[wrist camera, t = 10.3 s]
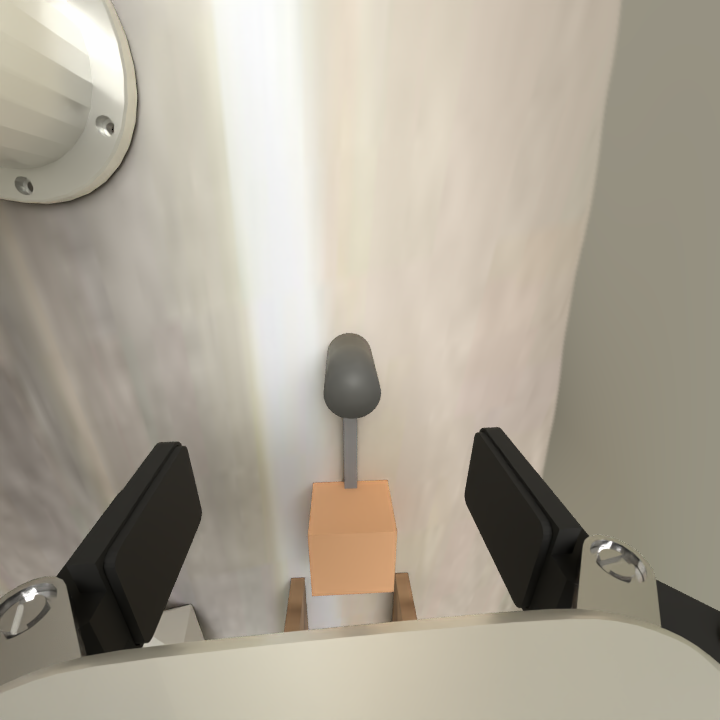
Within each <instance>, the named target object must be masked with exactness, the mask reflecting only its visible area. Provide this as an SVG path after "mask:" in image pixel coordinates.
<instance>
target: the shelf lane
mask: <svg viewBox="0 0 720 720" xmlns="http://www.w3.org/2000/svg"><path fill="white" fill-rule="evenodd" d="M408 620H417V617H416V611H415V606H414V601H413V596H412V591H411V586H410V581H409V576H408V573H395V584H394V598H393V613H392V622H397V621H408ZM303 630H308V618H307V604H306V591H305V578H291V585H290V592H289V599H288V606H287V614H286V621H285V628H284V632H292V631H303Z"/></svg>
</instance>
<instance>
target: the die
mask: <svg viewBox="0 0 720 720" xmlns="http://www.w3.org/2000/svg"><path fill="white" fill-rule="evenodd" d="M203 640H204V637H203V634H202V631H201V629H200V626H199V623H198V621H197V618H196V615H195V612H194V610H193V607H192V604H191V605H186V606H182V607H177V608H173V609H168V610H164V611H163V614H162V616H161V619H160V621H159V623H158V626H157V628H156V631H155V633H154V635H153V637H152V639H151V641H150V642H149V643H144V645H143V647H151V646H159V645H168V644H176V643H184V642H193V641H203ZM143 647H142V648H143Z"/></svg>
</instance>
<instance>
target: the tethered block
mask: <svg viewBox="0 0 720 720" xmlns="http://www.w3.org/2000/svg"><path fill="white" fill-rule="evenodd" d="M380 397H381V389H380V385H379V381H378V377H377V373H376V369H375V365H374V361H373V357H372V353H371V349H370V346H369V344H368V342H367V341H366V340H365V339H364V338H363V337H361V336H359V335H357V334H353V333H346V334H342V335H340V336H338V337H336V338H335V339H334V340H333V341H332V342H331V344H330V346H329V348H328V354H327V364H326V374H325V384H324V400H325V402H326V405H327V406H328V408H329V409H330V410H331V411H332V412H333V413H335V414H336V415H338V416H340V417H343V430H344V482H321V483H313V491H312V500H311V510H310V519H309V529H308V545H309V559H310V573H311V586H312V596H325V595H344V594H362V593H381V592H394V576H395V559H396V542H397V528H396V523H395V518H394V512H393V507H392V502H391V496H390V491H389V486H388V480H376V481H357V418H360V417H363V416H366V415H367V414H369V413H370V412H372V411H373V410H374V409H375V408H376V406H377V405H378V403H379V400H380Z"/></svg>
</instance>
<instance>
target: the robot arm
mask: <svg viewBox="0 0 720 720" xmlns="http://www.w3.org/2000/svg"><path fill="white" fill-rule="evenodd" d="M136 107H137V89H136V80H135V71H134V64H133V61H132V57H131V53H130V49H129V46H128V42H127V38H126V35H125V32H124V30H123V28H122V25H121V23H120V21H119V18H118V16H117V13H116V11H115V9H114V6H113V4H112V2H111V1H110V0H0V199H5V200H11V201H18V202H24V203H43V204H51V203H58V202H65V201H71V200H73V199H76V198H78V197H81V196H84V195H86V194H89V193H90V192H92V191H93V190H95V189H96V188H97V187H99V186H100V185H102V184H103V183H104V182H106V181H107V180H108V178H109V177H110V176H111V175H112V174H113V173H114V171H115V170H116V169H117V168H118V167H119V165H120V164H121V162H122V160H123V158H124V156H125V154H126V152H127V150H128V148H129V146H130V142H131V138H132V134H133V130H134V126H135V122H136ZM113 126H114V132H113V133H112V127H113ZM465 501H466V504H467V507H468V509H469V511H470V513H471V515H472V517H473V519H474V521H475V523H476V525H477V527H478V529H479V531H480V534H481V536H482V538H483V540H484V542H485V544H486V546H487V548H488V550H489V552H490V554H491V556H492V558H493V560H494V562H495V565H496V567H497V569H498V571H499V573H500V575H501V577H502V579H503V581H504V583H505V585H506V587H507V589H508V591H509V594H510V596H511V598H512V600H513V602H514V603H515V605H516V606H517V607H518V608H522V609H523V611H514V612H499V613H486V614H475V615H464V616H453V617H442V618H430V619H419V620H408V621H397V622H387V623H376V624H365V625H355V626H344V627H334V628H324V629H313V630H303V631H292V632H282V633H272V634H263V635H253V636H243V637H233V638H223V639H213V640H203V641H193V642H184V643H176V644H168V645H159V646H151V647H143V645H144V643H149V642H150V641H151V639H152V637H153V635H154V633H155V631H156V628H157V626H158V623H159V621H160V619H161V616H162V614H163V611H164V609H165V606H166V604H167V602H168V599H169V597H170V594H171V592H172V589H173V587H174V585H175V582H176V580H177V577H178V575H179V572H180V570H181V568H182V565H183V563H184V560H185V558H186V555H187V553H188V550H189V548H190V546H191V543H192V541H193V538H194V536H195V533H196V531H197V529H198V526H199V524H200V521H201V516H202V510H201V505H200V501H199V496H198V492H197V488H196V484H195V479H194V475H193V471H192V467H191V462H190V458H189V454H188V450H187V447H186V446H182V445H181V443H180V442H160V443H158V444H157V445H156V446H155V447H154V448H153V450H152V451H151V452H150V454H149V455H148V456H147V458H146V459H145V460H144V462H143V463H142V464H141V466H140V467H139V468H138V470H137V471H136V473H135V474H134V475H133V477H132V478H131V479H130V481H129V482H128V483H127V485H126V486H125V487H124V489H123V490H122V491H121V492H120V493H119V494H118V495H117V496H116V497H115V499H114V500H113V501H112V503H111V504H110V505H109V507H108V508H107V509H106V511H105V512H104V513H103V515H102V516H101V517H100V519H99V520H98V521H97V523H96V524H95V525H94V527H93V528H92V529H91V531H90V532H89V534H88V535H87V536H86V538H85V539H84V540H83V542H82V543H81V544H80V546H79V547H78V548H77V550H76V551H75V552H74V554H73V555H72V556H71V558H70V559H69V560H68V562H67V563H66V564H65V566H64V567H63V568H62V570H61V571H60V572H59V574H58V575H57V576H56V577H42V578H38V579H34V580H31V581H29V582H27V583H24V584H22V585H20V586H18V587H17V588H15V589H13V590H12V591H10V592H8V593H7V594H5V595H4V596H3V597H1V598H0V720H720V611H718V610H716V609H714V608H712V607H710V606H708V605H705V604H704V603H702V602H700V601H698V600H696V599H694V598H692V597H690V596H688V595H686V594H684V593H682V592H680V591H678V590H676V589H674V588H672V587H670V586H668V585H666V584H664V583H661V582H660V581H658V580H656V577H655V574H654V571H653V568H652V567H651V566H650V564H649V563H648V561H647V560H646V559H645V558H644V557H643V556H642V555H641V554H640V553H639V552H638V551H637V550H635V549H634V548H632V547H631V546H630V545H628V544H626V543H624V542H622V541H620V540H618V539H616V538H613V537H610V536H607V535H598V534H597V535H591V536H589V535H588V534H587V533H586V532H585V531H584V529H583V528H582V527H581V526H580V524H579V523H578V522H577V521H576V519H575V518H574V517H573V516H572V515H571V513H570V512H569V511H568V510H567V509H566V507H565V506H564V505H563V504H562V502H560V500H559V499H558V497H557V496H556V495H555V494H554V493H553V491H552V490H551V489H550V488H549V487H548V485H547V484H546V483H545V482H544V480H543V479H542V478H541V477H540V475H539V474H538V473H537V472H536V471H535V470H534V468H533V467H532V466H531V465H530V464H529V462H528V461H527V460H526V459H525V457H524V456H523V455H522V454H521V453H520V451H519V450H518V449H517V448H516V446H515V445H514V444H513V443H512V441H511V440H510V439H509V438H508V437H507V435H506V434H505V433H504V432H503V430H502V429H501V428H499V427H493V428H482V429H481V430H480V432H479V433H476V434H475V437H474V443H473V448H472V454H471V460H470V465H469V471H468V477H467V483H466V488H465ZM142 647H143V648H142Z"/></svg>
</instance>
